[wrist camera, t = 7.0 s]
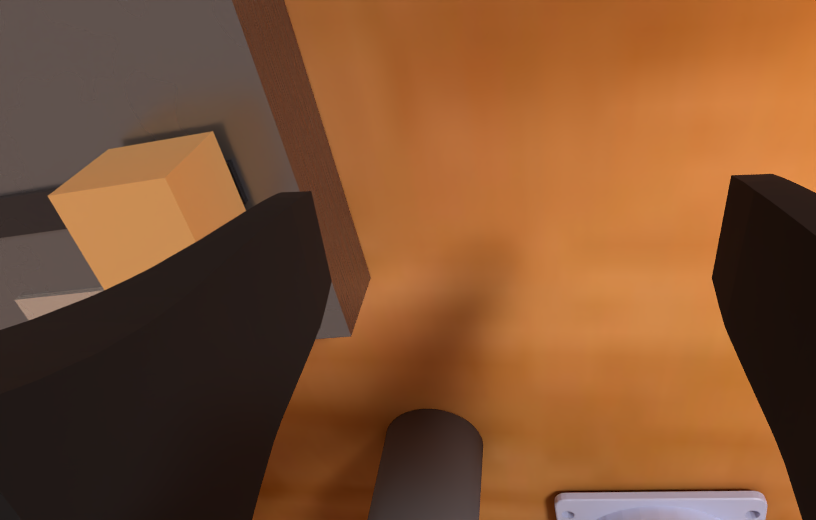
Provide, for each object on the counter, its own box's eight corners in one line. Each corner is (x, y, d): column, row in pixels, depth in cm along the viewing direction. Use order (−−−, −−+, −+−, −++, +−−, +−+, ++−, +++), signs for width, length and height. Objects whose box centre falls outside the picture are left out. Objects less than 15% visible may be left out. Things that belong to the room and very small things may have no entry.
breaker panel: (370, 277, 21) (349, 340, 18) (34, 311, 24) (-24, 368, 22) (258, -82, 15) (204, -65, 13) (-163, 28, 19) (-273, 59, 16)
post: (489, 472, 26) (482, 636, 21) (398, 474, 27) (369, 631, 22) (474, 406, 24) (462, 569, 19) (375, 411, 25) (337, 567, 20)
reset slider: (256, 234, 17) (219, 290, 15) (160, 246, 17) (111, 302, 15) (213, 130, 15) (164, 178, 13) (109, 148, 16) (48, 196, 14)
